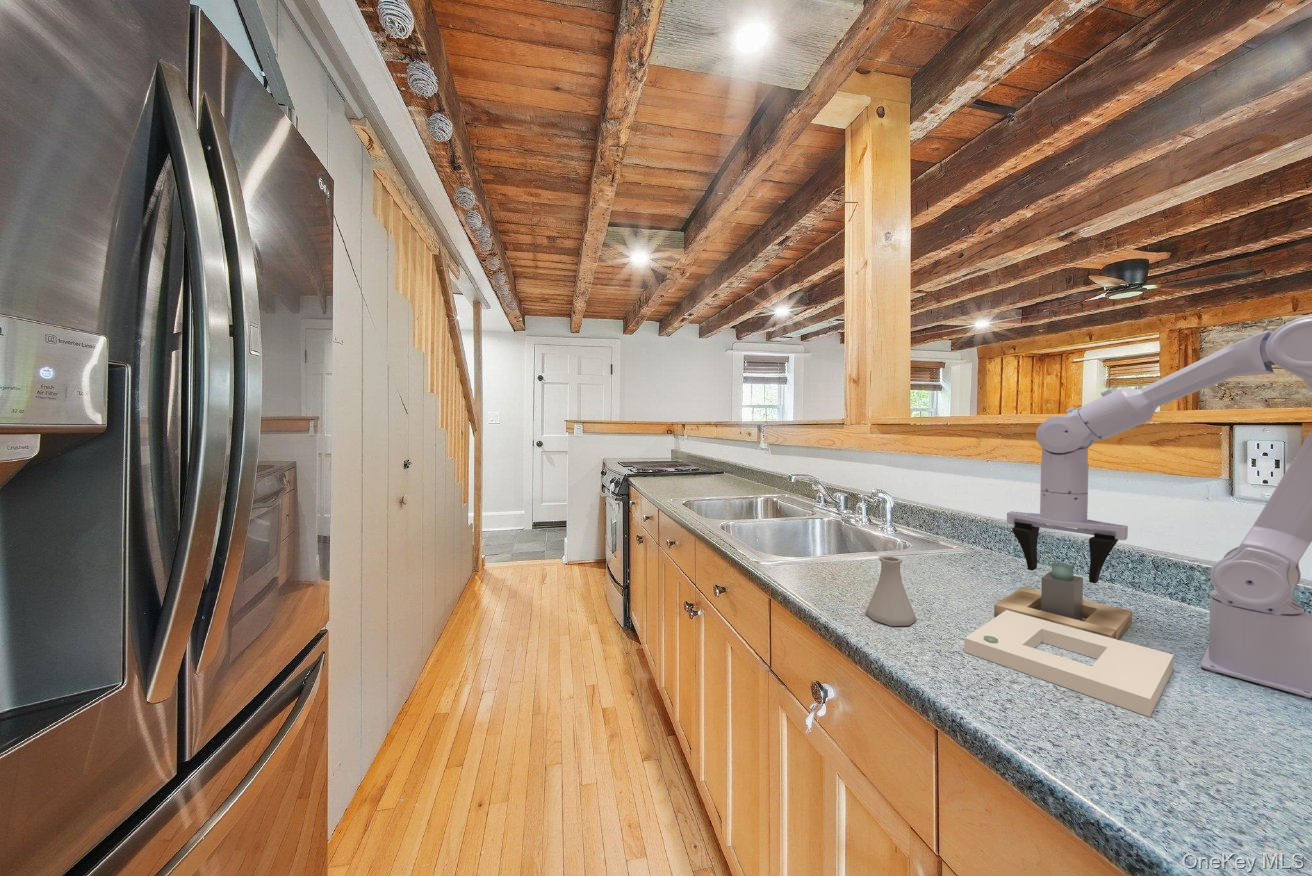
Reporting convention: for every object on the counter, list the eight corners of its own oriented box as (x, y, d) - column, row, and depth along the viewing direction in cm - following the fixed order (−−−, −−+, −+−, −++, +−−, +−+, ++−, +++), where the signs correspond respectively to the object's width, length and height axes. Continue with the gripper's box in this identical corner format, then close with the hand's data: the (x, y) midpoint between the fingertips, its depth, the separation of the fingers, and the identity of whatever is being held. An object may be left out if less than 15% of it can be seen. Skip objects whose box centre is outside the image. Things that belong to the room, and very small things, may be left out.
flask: (856, 613, 79) (856, 555, 78) (888, 606, 81) (889, 550, 81) (892, 631, 72) (892, 567, 72) (926, 623, 74) (926, 561, 74)
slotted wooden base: (1132, 623, 73) (1132, 610, 73) (1111, 649, 65) (1111, 635, 65) (1023, 597, 85) (1023, 586, 85) (994, 616, 76) (994, 604, 76)
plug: (1082, 620, 75) (1083, 565, 74) (1073, 628, 72) (1074, 571, 72) (1050, 612, 78) (1051, 559, 78) (1041, 619, 75) (1041, 565, 75)
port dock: (1173, 669, 60) (1173, 652, 60) (1149, 717, 50) (1150, 696, 50) (1006, 622, 74) (1006, 608, 74) (964, 651, 65) (964, 635, 65)
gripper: (1133, 494, 71) (1130, 582, 71) (1017, 484, 82) (1016, 559, 83) (1122, 499, 67) (1120, 592, 67) (1002, 488, 78) (1001, 567, 79)
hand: (1061, 575), depth 75 cm, fingers open, 7 cm apart
